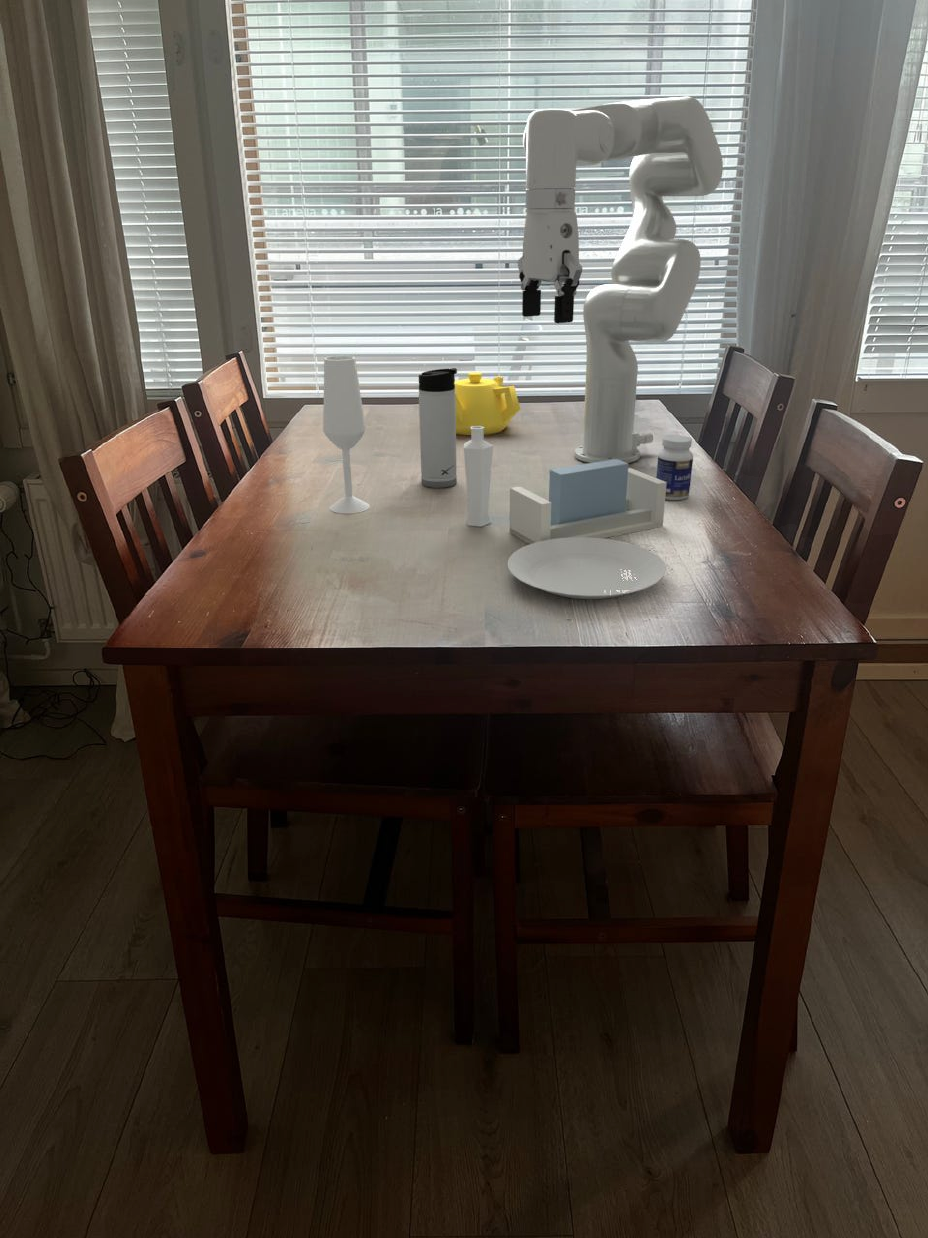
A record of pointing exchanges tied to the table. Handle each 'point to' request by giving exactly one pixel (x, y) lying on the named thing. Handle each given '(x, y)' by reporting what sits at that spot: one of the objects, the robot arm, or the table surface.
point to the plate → (586, 567)
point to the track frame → (640, 514)
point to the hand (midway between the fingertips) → (547, 319)
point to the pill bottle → (675, 466)
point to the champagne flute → (343, 420)
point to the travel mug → (438, 428)
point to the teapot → (484, 404)
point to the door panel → (587, 491)
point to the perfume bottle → (478, 476)
